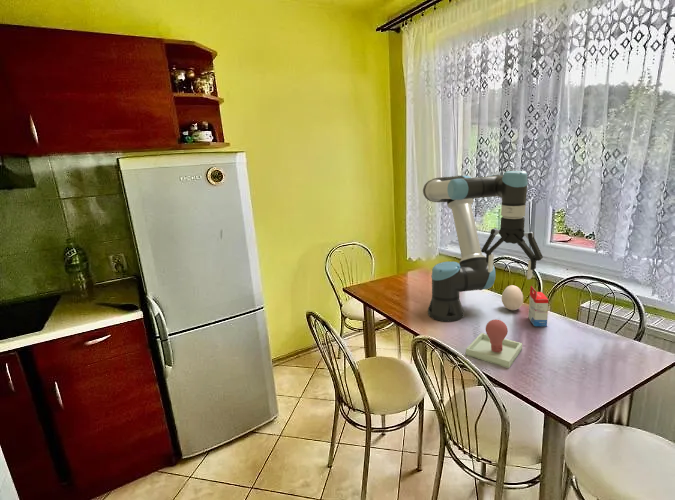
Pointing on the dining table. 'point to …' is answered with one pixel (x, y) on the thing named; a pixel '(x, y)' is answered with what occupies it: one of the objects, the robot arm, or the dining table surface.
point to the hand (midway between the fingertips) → (509, 274)
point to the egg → (512, 297)
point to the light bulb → (496, 334)
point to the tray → (483, 351)
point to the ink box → (538, 308)
